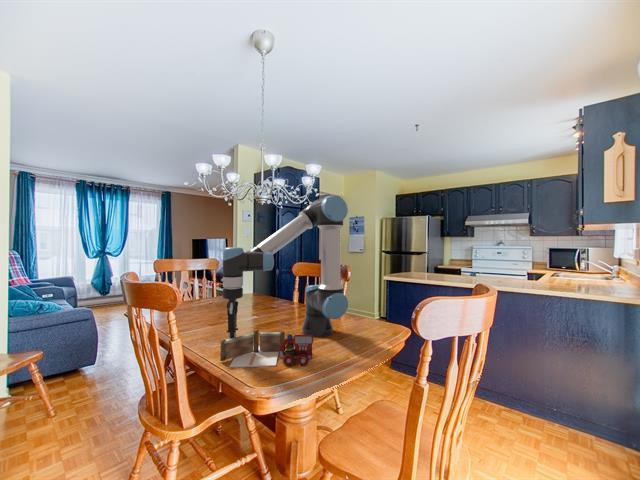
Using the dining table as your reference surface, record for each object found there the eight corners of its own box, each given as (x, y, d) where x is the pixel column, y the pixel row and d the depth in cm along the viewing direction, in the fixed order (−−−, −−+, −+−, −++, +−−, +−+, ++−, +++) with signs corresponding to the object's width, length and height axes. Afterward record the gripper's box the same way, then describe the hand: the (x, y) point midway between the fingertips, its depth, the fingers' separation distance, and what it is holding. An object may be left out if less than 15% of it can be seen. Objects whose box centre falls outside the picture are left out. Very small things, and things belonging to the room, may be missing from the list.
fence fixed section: (284, 351, 116) (284, 328, 116) (284, 352, 114) (284, 330, 114) (253, 351, 115) (253, 329, 115) (252, 353, 113) (253, 330, 113)
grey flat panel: (251, 350, 114) (251, 332, 114) (253, 352, 112) (253, 333, 113) (219, 359, 105) (219, 340, 105) (221, 361, 104) (221, 341, 104)
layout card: (279, 346, 121) (279, 345, 121) (275, 366, 102) (275, 364, 102) (241, 347, 120) (241, 346, 120) (229, 367, 101) (229, 365, 101)
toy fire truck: (281, 358, 109) (281, 330, 109) (314, 359, 108) (314, 331, 109) (277, 366, 102) (278, 336, 102) (312, 367, 102) (312, 337, 102)
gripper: (224, 284, 116) (224, 342, 117) (220, 290, 104) (219, 355, 104) (243, 284, 118) (243, 341, 118) (241, 290, 105) (241, 354, 105)
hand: (232, 348), depth 111 cm, fingers closed
